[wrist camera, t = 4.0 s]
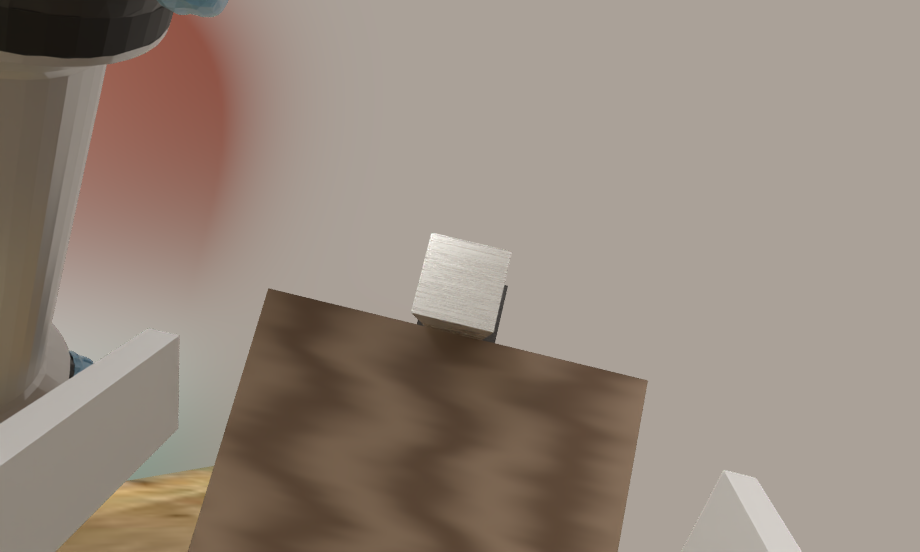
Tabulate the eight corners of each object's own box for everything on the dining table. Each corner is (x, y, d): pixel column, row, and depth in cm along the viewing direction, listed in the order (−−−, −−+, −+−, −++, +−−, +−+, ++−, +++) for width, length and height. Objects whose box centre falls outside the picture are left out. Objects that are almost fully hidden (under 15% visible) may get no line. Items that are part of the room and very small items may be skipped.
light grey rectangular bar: (370, 302, 18) (405, 172, 19) (420, 335, 44) (434, 279, 44) (534, 342, 18) (563, 209, 18) (487, 351, 43) (500, 295, 44)
